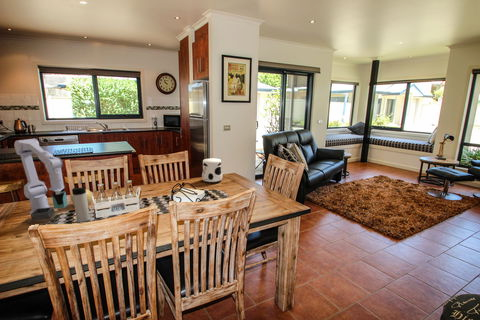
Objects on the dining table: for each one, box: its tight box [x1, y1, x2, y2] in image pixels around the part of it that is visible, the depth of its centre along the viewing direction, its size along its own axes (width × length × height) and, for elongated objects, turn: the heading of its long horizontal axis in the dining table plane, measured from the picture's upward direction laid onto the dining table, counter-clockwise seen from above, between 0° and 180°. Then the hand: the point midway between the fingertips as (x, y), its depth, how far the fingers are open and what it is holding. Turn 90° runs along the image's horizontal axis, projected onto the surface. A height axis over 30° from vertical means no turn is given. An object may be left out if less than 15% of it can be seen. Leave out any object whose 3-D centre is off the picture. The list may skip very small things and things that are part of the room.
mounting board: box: [26, 209, 59, 225], centre depth 147 cm, size 13×11×1 cm
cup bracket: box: [28, 206, 57, 221], centre depth 146 cm, size 10×10×3 cm
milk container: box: [201, 157, 224, 184], centre depth 214 cm, size 17×17×18 cm
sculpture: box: [70, 188, 94, 205], centre depth 165 cm, size 12×12×11 cm
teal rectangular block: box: [51, 191, 68, 210], centre depth 145 cm, size 5×5×8 cm
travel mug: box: [71, 186, 91, 224], centre depth 141 cm, size 6×7×20 cm
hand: (60, 202), depth 145 cm, fingers closed on teal rectangular block, 6 cm apart
